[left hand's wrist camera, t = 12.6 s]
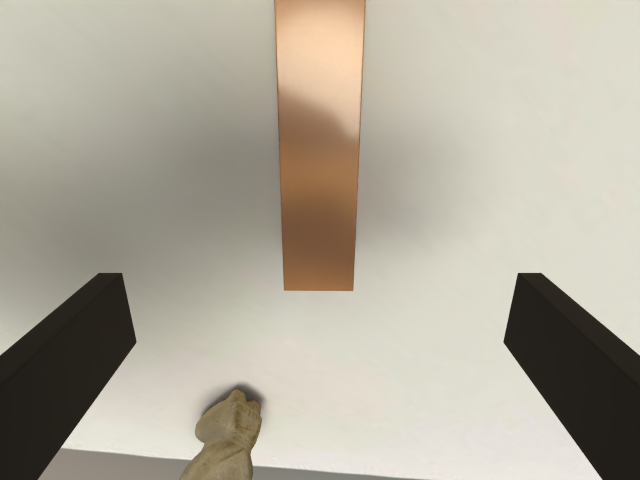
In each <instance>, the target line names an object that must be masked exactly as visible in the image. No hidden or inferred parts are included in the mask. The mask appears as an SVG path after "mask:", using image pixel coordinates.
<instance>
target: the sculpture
mask: <svg viewBox="0 0 640 480" xmlns="http://www.w3.org/2000/svg"><path fill="white" fill-rule="evenodd" d="M260 410H261V406H260V404H258V403H257V402H256V401H254V400H250V401H249V402H247V401H246V397H245V394H244V393H243V392H241V391H239V390H237V389H235V390H234V391H232V392H231V394H230V396H229V397H228V398H227V399H226V400H224V401H221V402H219V403H218V404H216V405H214V406H213V407H212V408H211V409H209V410H208V411H207V412H206V413H205V414H204V415H203V416H202V417H201V419H200V420H199V421H198V423H197V425H196V429H195V435H196V437H197V438H198V439H199V440H200V441H201V442H203V443H205V445H204V447H203V449H202V450H201V452H200V453H199V454H198V455H197V456H196V457H195V458H194V459H193V460H192V461H191V462H190V463H189V464H188V466H187V467H186V468H185V469H184V471H183V472H182V474H181V476H180V479H179V480H251V479H252V475H253V466H252V461H251V456H250V453H251V450H252V448H253V447H254V445H255V443H256V441H257V438H258V435H259V432H260V427H261V422H262V419H261V417H260Z"/></svg>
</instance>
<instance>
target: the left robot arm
mask: <svg viewBox="0 0 640 480" xmlns="http://www.w3.org/2000/svg"><path fill="white" fill-rule="evenodd" d="M135 344H136V337H135V332H134V328H133V323H132V318H131V314H130V309H129V304H128V299H127V295H126V290H125V285H124V280H123V276H122V273H98V274H97V275H96V276H95V277H94V278H92V279H91V280H90V281H89V282H88V283H86V284H85V285H84V286H83V287H82V288H80V289H79V290H78V291H77V292H76V293H74V294H73V295H72V296H71V297H70V298H68V299H67V300H66V301H65V302H64V303H62V304H61V305H60V306H59V307H58V308H57V309H55V310H54V311H53V312H52V313H51V314H49V315H48V316H47V317H46V318H45V319H43V320H42V321H41V322H40V323H39V324H37V325H36V326H35V327H34V328H33V329H31V330H30V331H29V332H28V333H27V334H25V335H24V336H23V337H22V338H21V339H20V340H18V341H17V342H16V343H15V344H14V345H12V346H11V347H10V348H9V349H8V350H6V351H5V352H4V353H3V354H2V355H0V480H38V478H39V477H40V475H41V474H42V473H43V471H44V470H45V469H46V467H47V466H48V464H49V463H50V462H51V460H52V459H53V458H54V456H55V455H56V453H57V452H58V451H59V449H60V448H61V446H62V445H63V444H64V442H65V441H66V439H67V438H68V437H69V435H70V434H71V433H72V431H73V430H74V428H75V427H76V426H77V424H78V423H79V421H80V420H81V419H82V417H83V416H84V415H85V413H86V412H87V410H88V409H89V408H90V406H91V405H92V403H93V402H94V401H95V399H96V398H97V396H98V395H99V394H100V392H101V391H102V390H103V388H104V387H105V385H106V384H107V383H108V381H109V380H110V378H111V377H112V376H113V374H114V373H115V371H116V370H117V369H118V367H119V366H120V365H121V363H122V362H123V360H124V359H125V358H126V356H127V355H128V353H129V352H130V351H131V349H132V348H133V347H134V345H135ZM504 344H505V345H506V347H507V348H508V349H509V351H510V352H511V353H512V355H513V356H514V358H515V359H516V360H517V362H518V363H519V365H520V366H521V367H522V369H523V370H524V371H525V373H526V374H527V376H528V377H529V378H530V380H531V381H532V383H533V384H534V385H535V387H536V388H537V390H538V391H539V392H540V394H541V395H542V396H543V398H544V399H545V401H546V402H547V403H548V405H549V406H550V408H551V409H552V410H553V412H554V413H555V415H556V416H557V417H558V419H559V420H560V421H561V423H562V424H563V426H564V427H565V428H566V430H567V431H568V433H569V434H570V435H571V437H572V438H573V439H574V441H575V442H576V444H577V445H578V446H579V448H580V449H581V451H582V452H583V453H584V455H585V456H586V458H587V459H588V460H589V462H590V463H591V464H592V466H593V467H594V469H595V470H596V471H597V473H598V474H599V476H600V477H601V478H602V480H640V355H638V354H637V353H636V352H635V351H634V350H632V349H631V348H630V347H629V346H628V345H626V344H625V343H624V342H623V341H622V340H620V339H619V338H618V337H617V336H616V335H615V334H613V333H612V332H611V331H610V330H609V329H607V328H606V327H605V326H604V325H603V324H601V323H600V322H599V321H598V320H597V319H595V318H594V317H593V316H592V315H591V314H589V313H588V312H587V311H586V310H585V309H583V308H582V307H581V306H580V305H579V304H577V303H576V302H575V301H574V300H573V299H572V298H570V297H569V296H568V295H567V294H566V293H564V292H563V291H562V290H561V289H560V288H558V287H557V286H556V285H555V284H554V283H552V282H551V281H550V280H549V279H548V278H546V277H545V276H544V275H543V274H542V273H518V276H517V280H516V285H515V290H514V295H513V299H512V304H511V309H510V314H509V318H508V323H507V328H506V332H505V337H504Z"/></svg>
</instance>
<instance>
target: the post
mask: <svg viewBox="0 0 640 480" xmlns="http://www.w3.org/2000/svg"><path fill="white" fill-rule="evenodd" d="M365 1H366V0H275V31H276V61H277V92H278V122H279V153H280V184H281V214H282V245H283V276H284V290H293V291H353V284H354V260H355V237H356V213H357V189H358V166H359V142H360V119H361V95H362V72H363V48H364V24H365Z"/></svg>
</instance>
